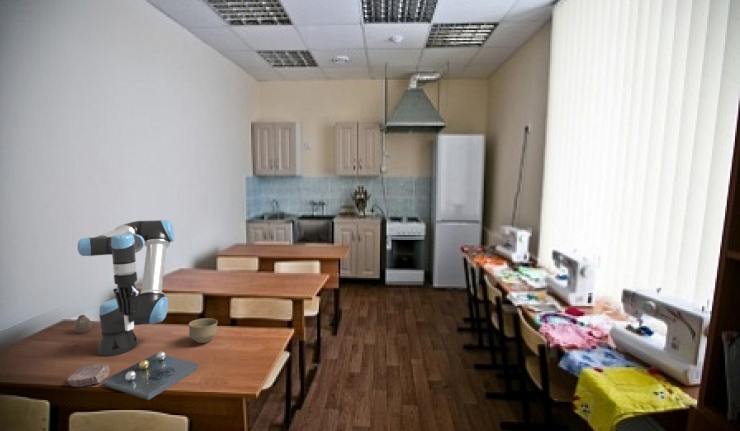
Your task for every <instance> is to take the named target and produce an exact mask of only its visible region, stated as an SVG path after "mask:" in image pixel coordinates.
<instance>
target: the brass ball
mask: <svg viewBox="0 0 740 431" xmlns="http://www.w3.org/2000/svg"><path fill="white" fill-rule="evenodd" d="M139 362H140V364H139V367H140V369H146V368H148V366H149V361H147V360H145V359H142V360H141V361H139Z"/></svg>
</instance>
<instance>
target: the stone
mask: <svg viewBox="0 0 740 431" xmlns="http://www.w3.org/2000/svg"><path fill="white" fill-rule="evenodd" d="M110 371H111V369H110V367H109V365H108V364H90V365H86V366H82V367H80V368H78V369H77V370H76V371H75V372H74V373H72V374H71V375H70V376H69V377H68V378H67V380H66V382H67V383H68V385H70V386H71V387H75V388H82V387H85V386H91V385H97V384H101V383H102V382H103V381H104V380H105V379H107V378H109V377H110V373H111V372H110Z"/></svg>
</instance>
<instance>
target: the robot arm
mask: <svg viewBox="0 0 740 431" xmlns="http://www.w3.org/2000/svg"><path fill="white" fill-rule="evenodd" d="M174 241H175V232H174V226H173V223H172V222H171V221H170V220H167V219H159V220H158V219H157V220H136V221H131V222H127V223H125V224H121V225H119V226H117V227H116V228H115V229H114V230H112V231H109V232H105V233H103V234H100V235H98V236H95V237H89V236H88V237H82V238H81V239H79V240H78V242H77V252H78V253H79V255H80V256H82V257H93V256H95V257H96V256H107V255H109V256H112V267H113V268H112V269H113V274H114V275H113V281H114V285H117V286H116V288H113V290H112V291H113V293H114V295H115V298H112V299H110V300H107V301H105V302H103V303H101V305H100V306H99V313H98V316H99V321H100V322H99V323H100V324H99V325H100V331H101V332H100V333H101V336H100V339H99V342H98V347H97V354H99V356H103V357H104V356H105V357H108V356H116V355H120V354H124V353H127V352H130V351H131V350H133V349H135V348H136V347H137V346H138V341H139V340H138V337H137V336H136V334H135V332H134V329H135V326H140V325H153V324H156V323H157V324H158V323H161V322H163V321H164V320H165V318H166V317H167V314H168V312H169V311H168V309H169V299H168V297H166V295H165V293H164V292H163V282H164V281H163V280H164V272H165V262H166V252H167V251H166V250H167V248H169V247H170V245H171V243H172V242H174ZM144 247H146V251H145V258H144V266H143V267H144V268H143V275H142V276H143V277H142V283H141V290H140V289H139V290H137V289H136V285H135V284H136V282H137V281H138V273H137V260H136V254H137V253H139V252H140V251H142V249H143V248H144Z"/></svg>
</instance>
